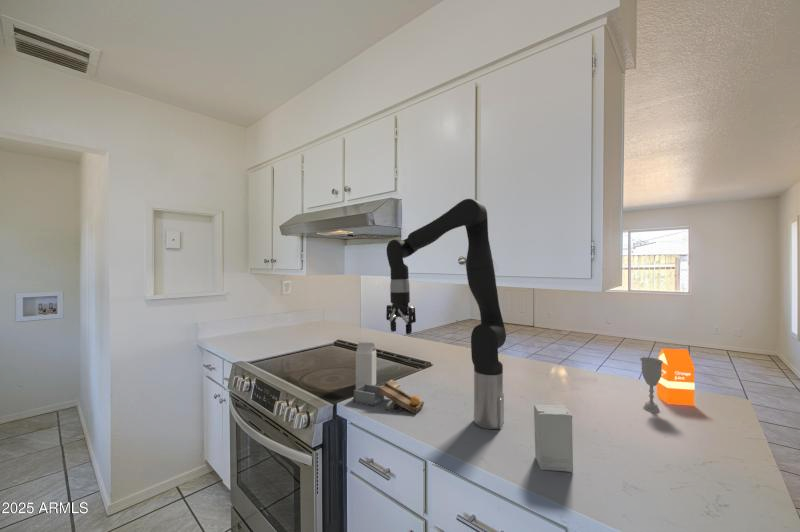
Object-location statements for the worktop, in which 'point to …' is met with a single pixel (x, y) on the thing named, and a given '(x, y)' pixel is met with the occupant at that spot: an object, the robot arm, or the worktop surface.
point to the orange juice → (676, 377)
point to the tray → (367, 394)
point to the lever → (398, 396)
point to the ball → (415, 400)
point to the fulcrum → (394, 407)
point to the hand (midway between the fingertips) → (400, 332)
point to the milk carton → (365, 364)
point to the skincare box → (553, 437)
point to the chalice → (651, 379)
